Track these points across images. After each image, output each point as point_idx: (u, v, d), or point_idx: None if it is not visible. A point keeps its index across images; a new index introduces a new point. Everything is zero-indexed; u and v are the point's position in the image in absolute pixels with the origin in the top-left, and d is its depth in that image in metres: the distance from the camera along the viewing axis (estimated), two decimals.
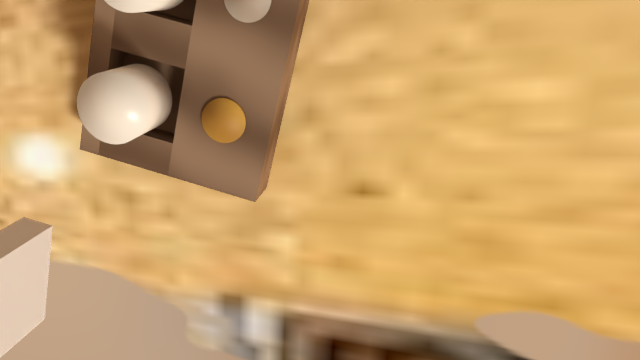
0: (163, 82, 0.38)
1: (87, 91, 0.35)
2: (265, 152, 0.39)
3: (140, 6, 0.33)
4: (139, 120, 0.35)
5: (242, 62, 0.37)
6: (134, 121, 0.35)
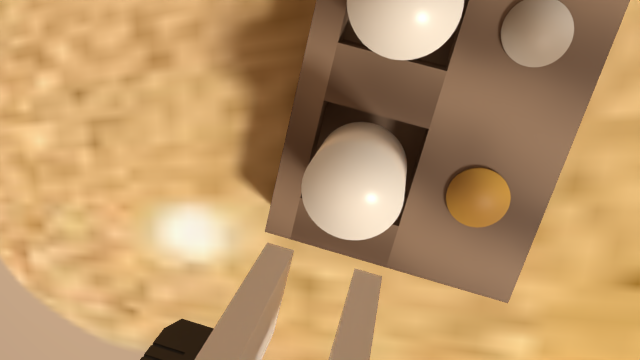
0: (401, 148, 0.27)
1: (319, 168, 0.25)
2: (532, 239, 0.28)
3: (418, 51, 0.23)
4: (394, 208, 0.25)
5: (516, 120, 0.27)
6: (386, 210, 0.25)
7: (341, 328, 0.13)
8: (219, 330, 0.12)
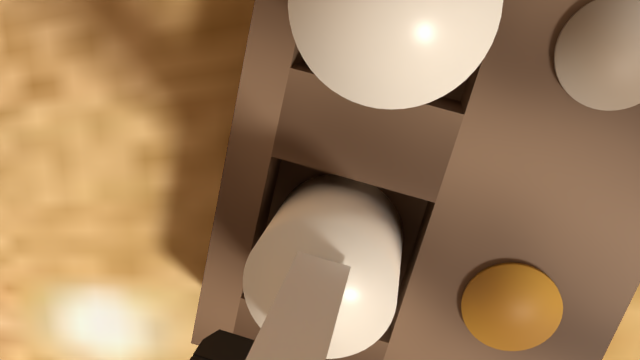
0: (394, 213, 0.19)
1: (269, 255, 0.16)
2: None
3: (417, 95, 0.12)
4: (382, 316, 0.16)
5: (574, 192, 0.17)
6: (369, 318, 0.16)
7: (304, 316, 0.13)
8: (260, 341, 0.12)
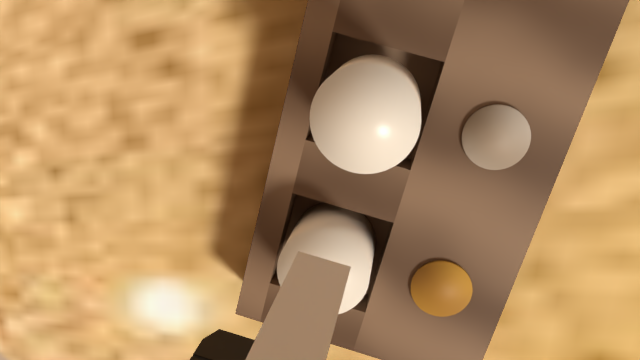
0: (370, 227, 0.30)
1: (293, 252, 0.27)
2: (493, 328, 0.29)
3: (378, 166, 0.23)
4: (361, 288, 0.27)
5: (477, 217, 0.28)
6: (353, 290, 0.27)
7: (304, 316, 0.13)
8: (260, 341, 0.12)
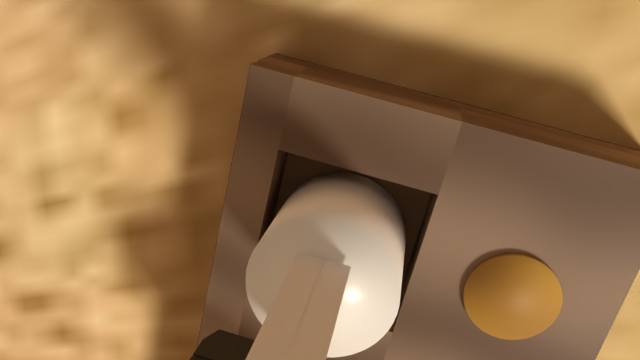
0: None
1: None
2: None
3: None
4: None
5: None
6: None
7: (304, 315, 0.13)
8: (260, 342, 0.12)
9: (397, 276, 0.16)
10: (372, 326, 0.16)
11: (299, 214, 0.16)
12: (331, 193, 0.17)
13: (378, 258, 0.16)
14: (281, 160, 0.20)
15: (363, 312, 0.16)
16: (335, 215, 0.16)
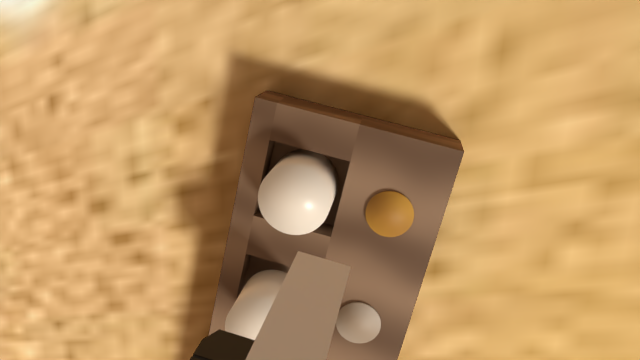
0: None
1: None
2: None
3: None
4: None
5: None
6: None
7: (304, 316, 0.13)
8: (260, 341, 0.12)
9: (328, 192, 0.34)
10: (318, 217, 0.35)
11: (283, 165, 0.35)
12: (298, 157, 0.36)
13: (319, 183, 0.34)
14: (270, 146, 0.37)
15: (313, 211, 0.35)
16: (299, 164, 0.34)
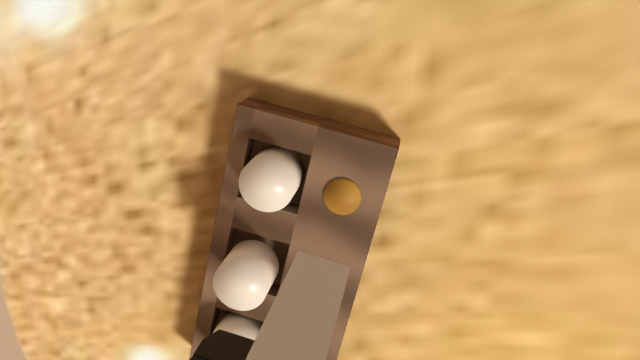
0: (261, 323, 0.53)
1: None
2: None
3: (248, 307, 0.46)
4: None
5: None
6: None
7: (304, 316, 0.13)
8: (260, 341, 0.12)
9: (292, 179, 0.44)
10: (285, 198, 0.45)
11: (258, 157, 0.45)
12: (271, 151, 0.46)
13: (285, 172, 0.44)
14: (250, 142, 0.48)
15: (281, 193, 0.45)
16: (270, 157, 0.44)
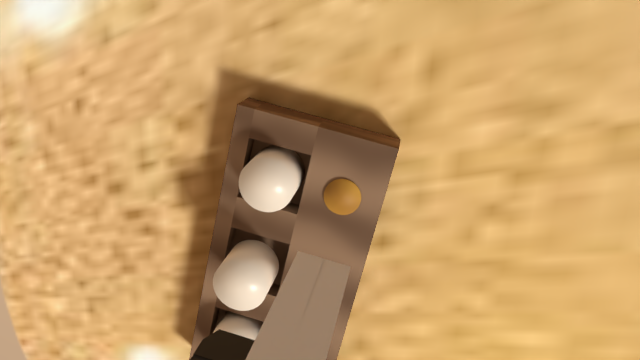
0: (261, 323, 0.53)
1: None
2: None
3: (248, 307, 0.46)
4: None
5: None
6: None
7: (304, 316, 0.13)
8: (260, 342, 0.12)
9: (292, 179, 0.44)
10: (285, 198, 0.45)
11: (258, 157, 0.45)
12: (271, 151, 0.46)
13: (285, 172, 0.44)
14: (250, 142, 0.48)
15: (281, 193, 0.45)
16: (270, 157, 0.44)
